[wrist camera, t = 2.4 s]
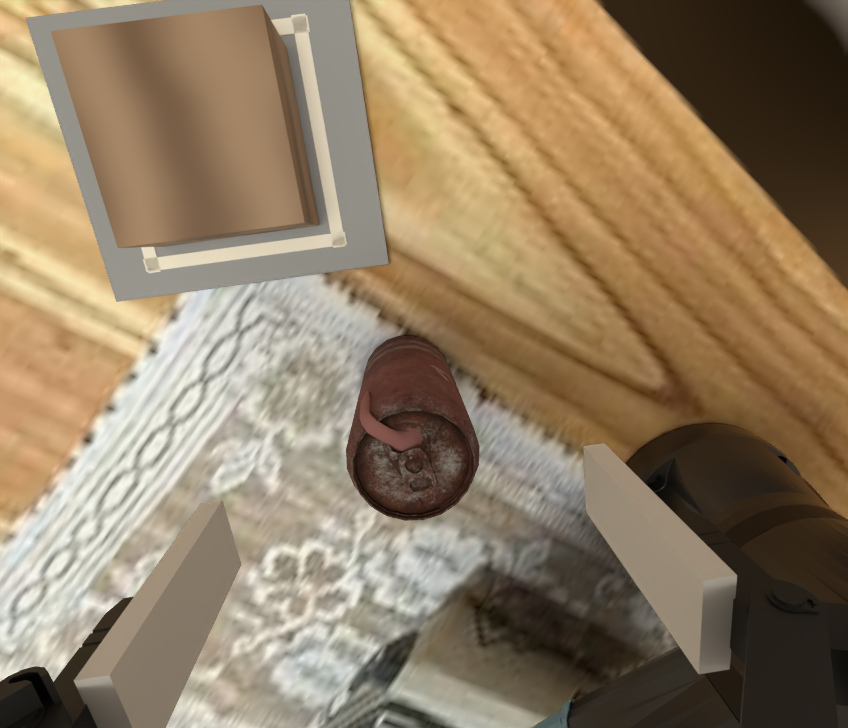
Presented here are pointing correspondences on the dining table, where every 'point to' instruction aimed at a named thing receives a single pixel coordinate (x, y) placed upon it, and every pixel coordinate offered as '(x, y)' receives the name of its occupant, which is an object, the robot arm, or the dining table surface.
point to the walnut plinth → (190, 126)
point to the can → (411, 433)
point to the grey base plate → (324, 141)
